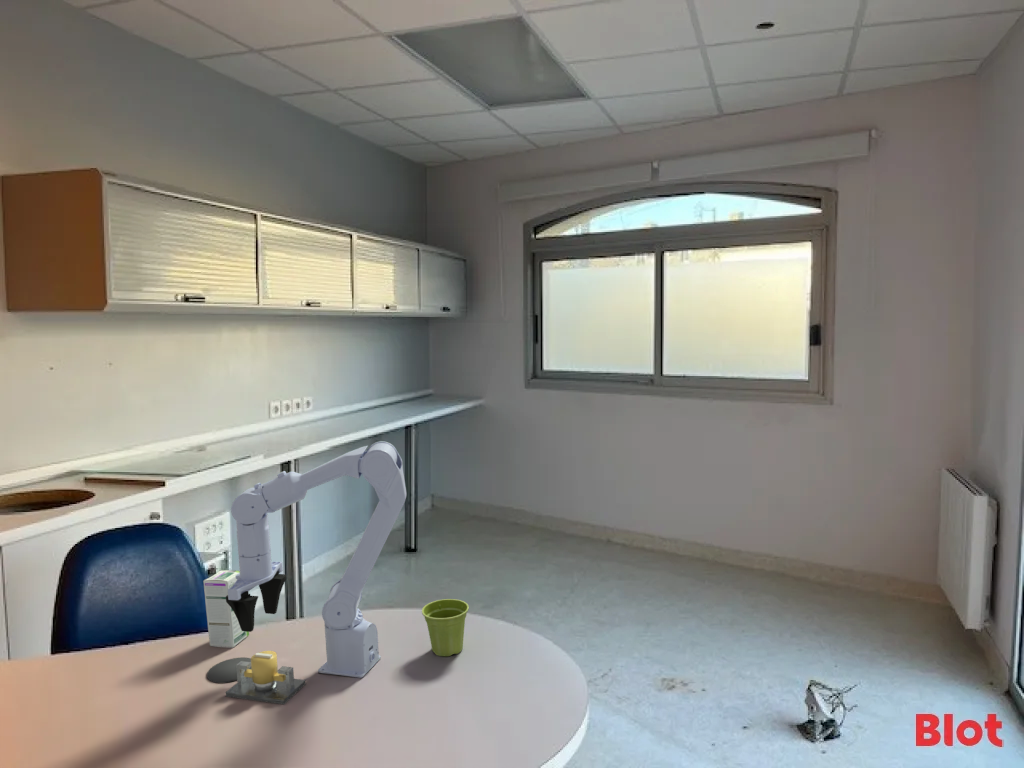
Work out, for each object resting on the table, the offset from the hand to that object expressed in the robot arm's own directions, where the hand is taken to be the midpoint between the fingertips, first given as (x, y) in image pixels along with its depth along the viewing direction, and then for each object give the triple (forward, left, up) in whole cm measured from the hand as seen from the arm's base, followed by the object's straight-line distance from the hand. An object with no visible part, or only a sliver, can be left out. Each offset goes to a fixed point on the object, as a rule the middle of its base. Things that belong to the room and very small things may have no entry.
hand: (259, 621), depth 131 cm
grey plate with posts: (-5, +6, -10) cm, 12 cm away
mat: (+6, +1, -10) cm, 12 cm away
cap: (-5, +6, -8) cm, 11 cm away
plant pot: (-32, -16, -10) cm, 37 cm away
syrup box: (+15, -10, -10) cm, 21 cm away
